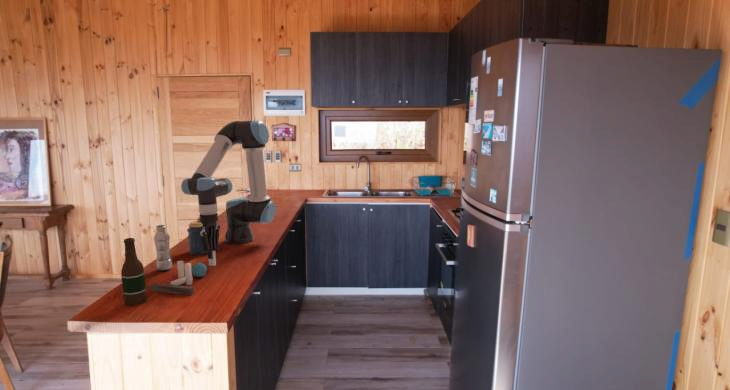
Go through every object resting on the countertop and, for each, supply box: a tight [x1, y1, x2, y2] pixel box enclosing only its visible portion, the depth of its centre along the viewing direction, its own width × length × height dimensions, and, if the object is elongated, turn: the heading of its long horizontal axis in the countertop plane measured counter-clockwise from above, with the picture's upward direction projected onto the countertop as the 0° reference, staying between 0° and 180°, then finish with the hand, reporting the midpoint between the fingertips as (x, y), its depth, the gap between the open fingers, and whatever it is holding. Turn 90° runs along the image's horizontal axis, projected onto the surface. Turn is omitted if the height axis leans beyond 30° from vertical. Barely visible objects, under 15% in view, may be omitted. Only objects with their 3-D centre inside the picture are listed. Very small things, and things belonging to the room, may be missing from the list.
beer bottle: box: [120, 237, 147, 307], centre depth 160 cm, size 8×8×24 cm
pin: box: [183, 262, 193, 286], centre depth 179 cm, size 2×2×8 cm
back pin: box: [176, 260, 185, 279], centre depth 182 cm, size 2×2×8 cm
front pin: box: [170, 276, 194, 286], centre depth 180 cm, size 2×2×8 cm
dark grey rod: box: [150, 282, 195, 296], centre depth 171 cm, size 2×18×2 cm, turn 75°
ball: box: [191, 262, 208, 278], centre depth 187 cm, size 6×6×6 cm
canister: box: [186, 216, 208, 256], centre depth 223 cm, size 13×13×18 cm
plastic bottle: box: [153, 224, 173, 271], centre depth 196 cm, size 6×7×20 cm
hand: (212, 265), depth 197 cm, fingers closed
